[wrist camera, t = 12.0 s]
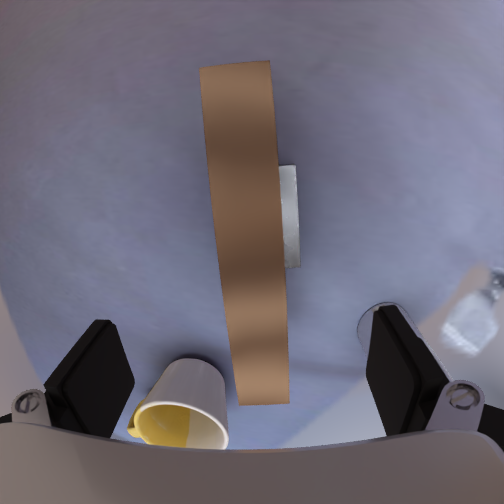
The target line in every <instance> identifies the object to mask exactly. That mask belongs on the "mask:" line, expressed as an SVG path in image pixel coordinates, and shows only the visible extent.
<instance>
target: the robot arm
mask: <svg viewBox="0 0 504 504" xmlns="http://www.w3.org/2000/svg"><path fill="white" fill-rule="evenodd" d="M366 378H367V381H368V384H369V386H370V389H371V392H372V394H373V397H374V400H375V403H376V406H377V409H378V412H379V414H380V417H381V420H382V423H383V426H384V429H385V432H386V435H387V436H386V437H380V438H374V439H368V440H362V441H354V442H347V443H339V444H330V445H322V446H312V447H301V448H284V449H257V450H224V449H198V448H183V447H171V446H161V445H151V444H143V443H136V442H129V441H122V440H116V439H110V437H111V435H112V433H113V431H114V429H115V426H116V424H117V422H118V420H119V418H120V415H121V413H122V411H123V409H124V407H125V405H126V402H127V400H128V398H129V396H130V394H131V392H132V390H133V388H134V384H135V381H134V376H133V374H132V371H131V368H130V366H129V363H128V360H127V357H126V354H125V352H124V349H123V346H122V343H121V340H120V337H119V334H118V331H117V328H116V325H115V324H112V322H111V321H110V320H95V321H94V322H93V323H92V324H91V325H90V326H89V328H88V329H87V330H86V331H85V333H84V334H83V335H82V336H81V337H80V339H79V340H78V341H77V342H76V344H75V345H74V346H73V347H72V349H71V350H70V351H69V352H68V354H67V355H66V356H65V357H64V359H63V360H62V361H61V363H60V364H59V365H58V366H57V368H56V369H55V370H54V372H53V373H52V374H51V375H50V377H49V378H48V379H47V381H46V382H45V383H44V387H45V389H46V392H45V393H43V392H42V391H40V390H37V389H30V390H26V391H24V392H22V393H21V394H19V395H18V396H17V397H16V398H15V399H14V400H13V403H12V407H11V410H12V413H10V414H7V415H5V416H2V417H0V504H504V410H502V409H499V408H496V407H493V406H490V405H487V404H484V402H485V396H484V393H483V391H482V390H481V388H480V387H479V386H477V385H476V384H474V383H472V382H470V381H466V380H455V381H452V382H450V381H449V380H448V378H447V377H446V375H445V373H444V372H443V370H442V369H441V367H440V366H439V364H438V362H437V361H436V359H435V358H434V356H433V355H432V353H431V352H430V350H429V349H428V347H427V346H426V344H425V343H424V341H423V340H422V339H421V338H419V337H417V335H416V334H415V332H414V331H413V329H412V328H411V326H410V325H409V323H408V322H407V321H406V319H405V318H404V316H403V315H402V313H401V312H400V310H399V309H398V308H397V306H396V305H387V306H380V307H379V309H378V311H374V313H373V321H372V330H371V338H370V346H369V353H368V360H367V367H366Z"/></svg>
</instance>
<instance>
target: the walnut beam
mask: <svg viewBox="0 0 504 504" xmlns="http://www.w3.org/2000/svg"><path fill="white" fill-rule="evenodd" d="M199 72H200V85H201V98H202V110H203V122H204V133H205V143H206V154H207V164H208V174H209V184H210V193H211V202H212V211H213V220H214V229H215V237H216V246H217V254H218V262H219V270H220V278H221V285H222V293H223V300H224V308H225V315H226V322H227V329H228V336H229V343H230V350H231V357H232V363H233V370H234V376H235V383H236V389H237V395H238V402H239V406H240V405H270V404H288V403H289V359H288V327H287V301H286V278H285V258H284V239H283V222H282V206H281V191H280V176H279V162H278V149H277V136H276V124H275V112H274V101H273V90H272V79H271V69H270V61H255V62H243V63H233V64H224V65H216V66H209V67H202V68H199Z"/></svg>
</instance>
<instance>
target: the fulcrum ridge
mask: <svg viewBox="0 0 504 504" xmlns="http://www.w3.org/2000/svg"><path fill="white" fill-rule="evenodd" d="M279 176H280V191H281V206H282V222H283V239H284V258H285V268H296V267H300V241H299V219H298V200H297V183H296V168H295V165H294V164H292V165H279Z"/></svg>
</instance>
